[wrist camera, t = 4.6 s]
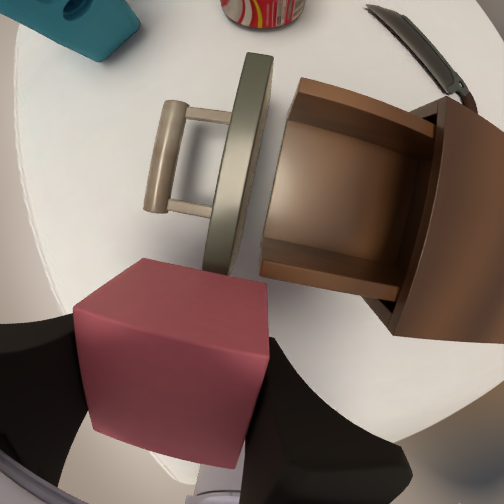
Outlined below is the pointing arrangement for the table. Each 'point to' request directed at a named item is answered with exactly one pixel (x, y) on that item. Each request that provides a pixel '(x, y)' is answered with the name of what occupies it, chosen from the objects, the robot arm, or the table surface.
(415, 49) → the knife
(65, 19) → the block
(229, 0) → the beverage can
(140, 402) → the block
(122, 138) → the table surface
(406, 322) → the cabinet
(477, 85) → the table surface
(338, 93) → the drawer
